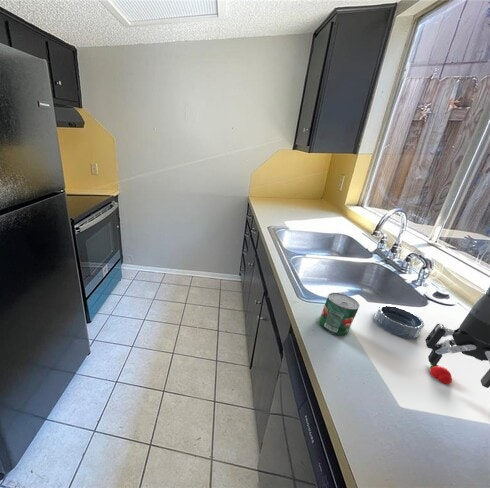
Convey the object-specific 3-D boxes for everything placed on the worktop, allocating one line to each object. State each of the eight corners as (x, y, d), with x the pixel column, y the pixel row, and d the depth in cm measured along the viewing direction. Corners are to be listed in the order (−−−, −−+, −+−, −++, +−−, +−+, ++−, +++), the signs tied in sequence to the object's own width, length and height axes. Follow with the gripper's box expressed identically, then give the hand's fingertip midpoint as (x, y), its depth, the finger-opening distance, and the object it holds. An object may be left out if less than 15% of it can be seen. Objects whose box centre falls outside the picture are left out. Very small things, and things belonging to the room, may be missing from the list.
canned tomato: (315, 317, 84) (326, 289, 80) (343, 324, 82) (355, 296, 77) (319, 333, 78) (330, 304, 73) (349, 342, 75) (363, 312, 71)
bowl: (414, 327, 82) (422, 314, 80) (418, 347, 74) (426, 333, 72) (373, 312, 88) (379, 300, 86) (372, 329, 80) (378, 316, 78)
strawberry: (458, 387, 62) (444, 372, 66) (457, 375, 61) (443, 361, 65) (439, 388, 63) (426, 373, 67) (437, 377, 62) (425, 363, 66)
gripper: (544, 325, 52) (497, 380, 59) (446, 296, 60) (415, 348, 66) (563, 347, 46) (508, 405, 53) (453, 312, 54) (417, 367, 61)
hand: (456, 373), depth 60 cm, fingers open, 8 cm apart
